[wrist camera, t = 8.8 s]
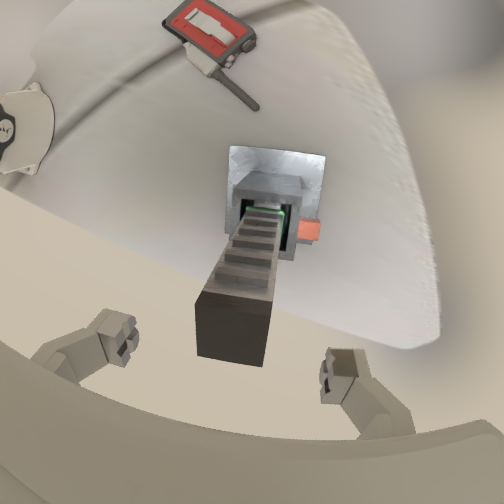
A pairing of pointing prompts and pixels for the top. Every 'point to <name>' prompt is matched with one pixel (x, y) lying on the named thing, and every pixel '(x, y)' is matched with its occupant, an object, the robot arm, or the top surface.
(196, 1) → the walkie-talkie
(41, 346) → the robot arm
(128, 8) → the top surface
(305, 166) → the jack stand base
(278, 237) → the column
